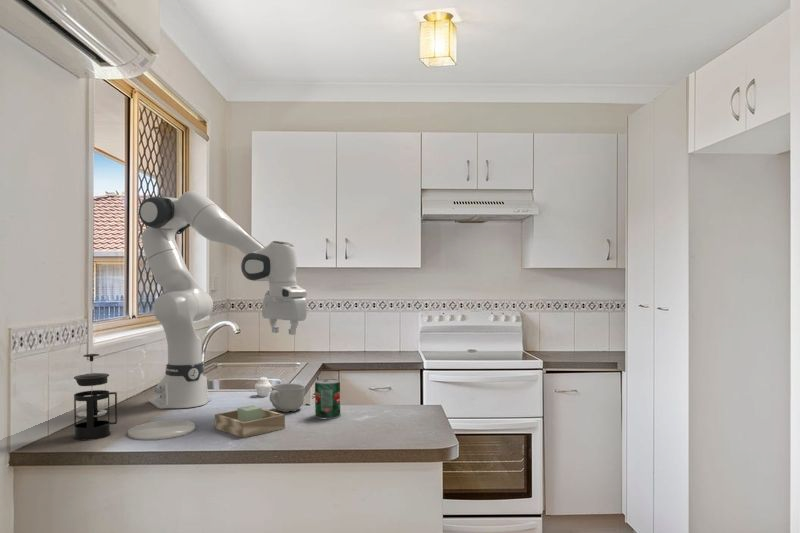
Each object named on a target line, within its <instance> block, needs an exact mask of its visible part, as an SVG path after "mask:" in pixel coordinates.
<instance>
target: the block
mask: <svg viewBox="0 0 800 533" xmlns="http://www.w3.org/2000/svg"><path fill="white" fill-rule="evenodd" d="M262 409H263V408H262V407H260V406H256V405H246V406H242V407H241V406H240V407H237V409H236V410H238V420H239V421H242V422H249V421H254V420H258V419H262Z"/></svg>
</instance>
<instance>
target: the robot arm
mask: <svg viewBox="0 0 800 533" xmlns="http://www.w3.org/2000/svg"><path fill="white" fill-rule="evenodd" d="M138 216H139V219H140V221H141V222H142V223H143V225H145V226H147V228H146V229H144V230H143V232H142V233H141V236H140V237H141V243H142V244H141V245H142V248H143V251H144V255H145V258H146V260H147V264H148V265H149V268H150V271H151V272H152V274H153V277H154V281H155V282H156V284H158V285H159V286H160V287H162V288H163V289H164V290H165V291H166V293H163V294H162V295H159V296H158V297H157V298H156V299H155V301H154V302H153V305H152V311H153V316H154V317H155V319H156V320H157V321H158V322H159V323H160V324H161V326H162V328H163V331H164V335H165V338H166V344H167V364H165V366H166V367H165V372H164V373H165V375H164V376H163V378H161V380H160V381H159V382H158V383H157V385H156V386H155V387H154V394H155V396H154V397H152V398H149V399H148V401H149V403H150V404H152V405H153V406H155V407H156V408H158V409H187V408H195V407H201V406H204V405H206V404H207V403H208V402H210V401H211V400H212V397H211V396H209V390H208V381H207V379H208V378H207V376H205V375H204V374H203V373H204V368H205V366H204V362H203V355H202V354H203V347H202V342H203V341H202V339H201V337H200V336H199V335H198V333H197V331H196V330H195V329H196V328H195V327H194V322H198V321H201V320H203V319H205V318H206V317H208V316H209V315H210V314H211V313H212V311H213V309H214V301H213V298H212V297H211V295H210V294H209V293H207V292H206V291H205V290H204V289H203V288H202V287H201V286H200V285H199V284H198V283H197V282H196V280H195V278H194V277H193V275H192V274H191V273H190V271H189V269H188V267H187V265H186V262H185V260H184V257H183V255H182V254H181V251H180V249H179V246H178V244H177V241H176V235H181V234H183V233H184V232H185V230H187V229H188V228H189V227H191V228H192V229H194V231H196V232H197V233H198V234H199V235H200V236H202V237H203V238H205V239H207V240H209V241H212V242H215V243H216V242H217V243H221V244H225V245H228V246H232V247H234V248H235V249H238V250H239V251H240V252H241V253H242V254H244V257H243V258H242V260H241V264H240V269H241V273H242V274H243V276H244V277H245V278H246V279H248V280H250V281H253V282H268V283H269V284H268V285H269V290H267V291H266V292H265V293H264V297H263V299H262V305H261V306H262V308H261V315H262V316H261V317H262V318H263V319H268V320H269V325H270V327H271V333H274V334H277V333H279V331H280V330H279V329H280V328H279V326H278V325H277V322H278V320H279V321H280V320H282V321H289V322H290V323H289V324H290V328H289V329H288V335H290V336H293V335H296V334H297V328H298V325H299V322H303V321H305V320H306V318H307V315H308V314H307V310H308V309H307V308H308V306H307V299H306V297H307V294H308V293H307V290H306V289H304V288H303V287H301V286H299V285H298V284H297V281H298V280H297V276H296V272H297V269H298V268H297V267H298V266H297V265H298V264H297V255H296V254H297V253H296V248H295V246H294V245H293V244H292V243H289V242H285V241H280V240H279V241H278V240H273V241H271V242H270V243H269V244H268V245H266V246H264V245H263V243H261V242H260V241H258V240H257V239H256V238H255V237H253V236H252V235H251V234H250V233H248V232H247V231H246V230H245V229H243V228H242V227H241V226H240V225H239V224H238V223H236V221H234V220H233V219H232V218H231V217H230V216H229V215H228V214H227V213H226V212H225V211H223V209H222V208H221V207H220V206H219V205H217V204H216V203H215V202H214V201H212V199H210V198H208V197H207V196H206V195H204V194H203V193H201V192H199V191H197V190H188V191H186V192H184V193H182V195H181V196H180V197H179V198H177V197H171V196H167V197H165V196H164V197H162V196H151V197H148V198H146V199H144V200H143V201H142V202H141V203H140V204H139V208H138Z"/></svg>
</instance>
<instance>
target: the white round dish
mask: <svg viewBox="0 0 800 533" xmlns="http://www.w3.org/2000/svg"><path fill="white" fill-rule="evenodd" d="M195 426H196V424H195V423H194V422H192V421H187V420H179V419H178V420H172V419H171V420H169V419H168V420H158V421H152V422H151V421H150V422H144V423H142V424H137V425H135V426H132V427H131V428H129V429H128V430H127V436H128V437H129V438H131V439H134V440H139V441H159V440H158V439H160V440H168V439H173V437H174V438H179V437H182V435H183V436H185V435H188V434H191V433H193V432H194V431H195V429H196V427H195ZM167 438H168V439H167Z"/></svg>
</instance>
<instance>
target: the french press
mask: <svg viewBox="0 0 800 533" xmlns="http://www.w3.org/2000/svg"><path fill="white" fill-rule="evenodd" d="M99 356H100V354H99V353H88V354H84V355H82V357H84V358H85V357H86V358H89V362H90V373H85V374H79V375H75V376H73V380H75V381H76V383H77V385H78V386H80V387H90V390H86V391H80V392H76V393H74V395H73V407H74V408H73V409H74V410H73V411H74V412H73V413H74V415H73V417H74V419H73V420H74V425H73V426H74V434H73V439H74V438H76V439H86V440H85V441H88V440H87V439H94V440H98V438H100V439H104V438H106V437H109V436H111V433H112V432H111V427H110V426H111V425H117V424H118V392H117V391H112V392H111V391H109V390H105V389H104V390H103V389H100V390H99V389H97V390H94V389H93V386H101V385H105V384H107V383H108V378H109V376H110V374H108V373H104V372H103V373H101V372H98V373H97V372H94V373H93V362H94V357H99ZM110 395H114V408H115V409H114V411H115V412H114V416H115V419H114V421H111V420H110V417H111V416H110V410H111V409H110ZM105 399H107V409H98V401H99V400H105ZM77 402H85V403H86V404H85V405H86V410H84V411H83V410H82V411H80V412H77ZM107 415H108V416H107ZM105 416H107V418H108V419H107V420H105V419H98V418H102V417H105ZM77 419H85V420H86V421H82V422H79V423H77ZM76 439H75V440H76Z"/></svg>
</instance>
